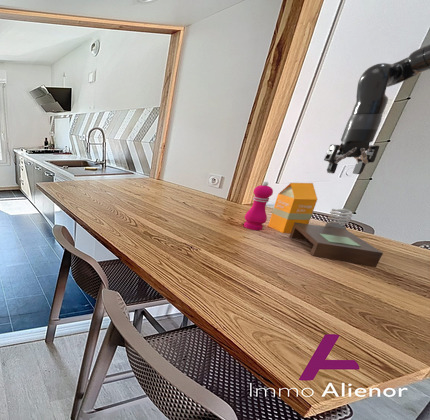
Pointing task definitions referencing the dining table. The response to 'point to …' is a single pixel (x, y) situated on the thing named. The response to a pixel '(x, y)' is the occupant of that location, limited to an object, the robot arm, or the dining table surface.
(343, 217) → the light bulb
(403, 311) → the dining table surface
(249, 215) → the pepper mill
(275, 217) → the orange juice
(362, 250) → the shelf
